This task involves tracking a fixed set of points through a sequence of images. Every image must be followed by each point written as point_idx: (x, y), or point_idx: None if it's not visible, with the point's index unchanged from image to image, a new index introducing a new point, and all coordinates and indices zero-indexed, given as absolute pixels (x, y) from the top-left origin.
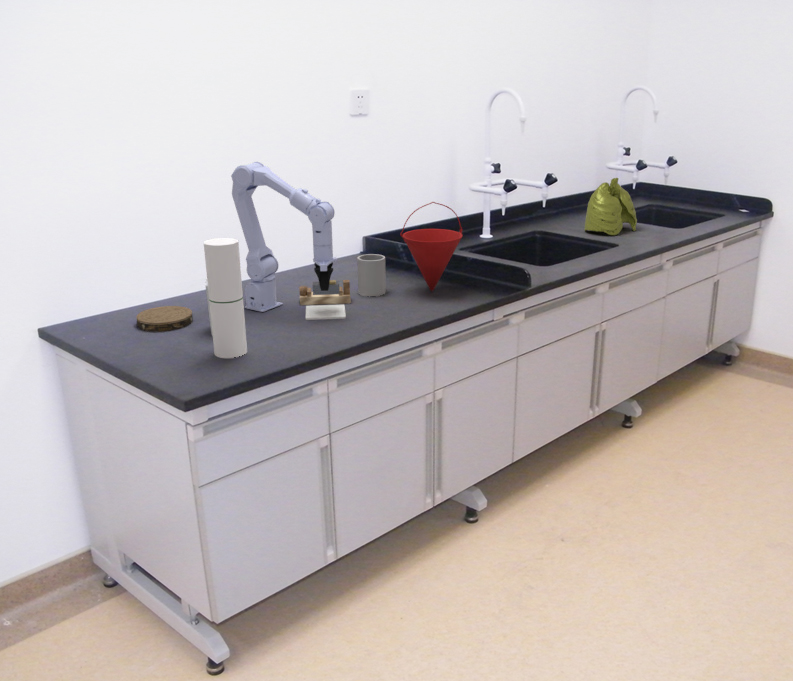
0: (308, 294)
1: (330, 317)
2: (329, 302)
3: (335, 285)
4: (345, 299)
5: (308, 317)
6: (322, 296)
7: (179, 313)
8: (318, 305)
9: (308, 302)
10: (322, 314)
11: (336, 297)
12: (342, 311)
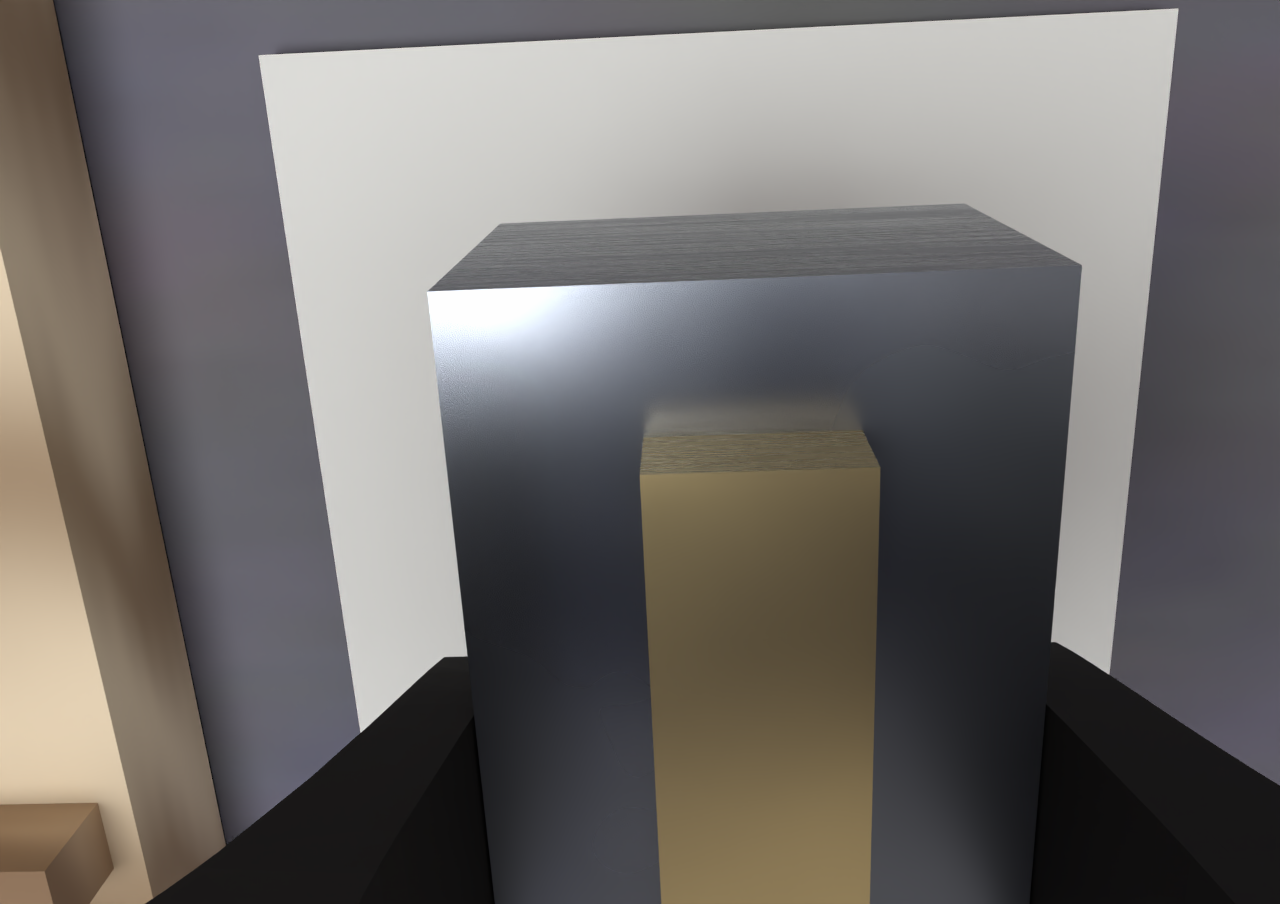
0: (86, 882)
1: (1136, 353)
2: (115, 398)
3: (1057, 433)
4: (2, 32)
5: None
6: (59, 587)
7: None
8: (342, 604)
9: (191, 783)
10: None
11: (25, 264)
12: (780, 96)
